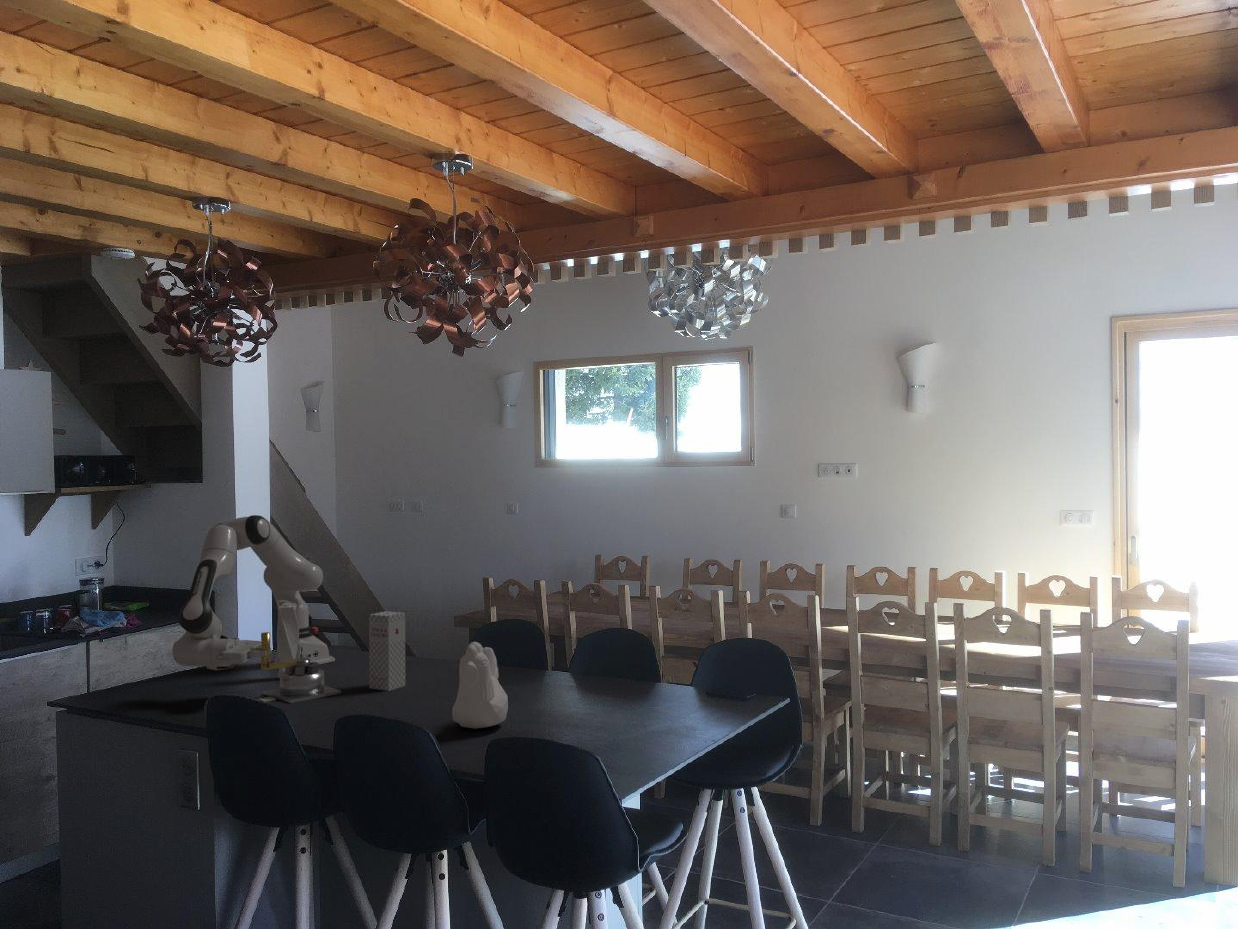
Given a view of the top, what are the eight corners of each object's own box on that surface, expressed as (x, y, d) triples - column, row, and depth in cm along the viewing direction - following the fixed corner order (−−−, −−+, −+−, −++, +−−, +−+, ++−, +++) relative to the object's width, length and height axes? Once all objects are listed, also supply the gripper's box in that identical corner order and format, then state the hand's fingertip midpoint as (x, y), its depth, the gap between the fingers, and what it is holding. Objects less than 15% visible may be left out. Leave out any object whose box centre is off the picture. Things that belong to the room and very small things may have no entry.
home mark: (269, 698, 319) (269, 696, 319) (276, 700, 316) (276, 699, 316) (256, 700, 316) (256, 699, 316) (263, 702, 313) (263, 701, 313)
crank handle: (310, 667, 332) (310, 625, 332) (323, 672, 324) (323, 629, 324) (255, 675, 320) (255, 631, 320) (267, 680, 312) (267, 635, 312)
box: (405, 685, 336) (405, 612, 336) (388, 690, 328) (388, 616, 328) (386, 683, 340) (385, 611, 340) (369, 688, 332) (369, 614, 332)
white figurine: (489, 737, 272) (489, 647, 272) (440, 732, 277) (439, 644, 277) (529, 715, 295) (528, 633, 295) (482, 711, 301) (482, 630, 301)
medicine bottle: (216, 671, 361) (216, 638, 361) (206, 668, 366) (206, 636, 366) (234, 667, 367) (234, 635, 367) (223, 665, 371) (223, 633, 371)
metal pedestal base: (313, 685, 337) (313, 665, 337) (340, 693, 325) (340, 672, 325) (263, 694, 324) (263, 673, 324) (290, 703, 312) (290, 681, 312)
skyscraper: (285, 681, 343) (284, 601, 343) (271, 678, 348) (271, 599, 348) (305, 677, 350) (305, 599, 350) (292, 674, 355) (292, 597, 355)
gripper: (213, 648, 306) (257, 648, 306) (236, 637, 326) (278, 637, 327) (213, 669, 306) (257, 668, 306) (236, 656, 326) (278, 655, 327)
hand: (268, 652), depth 317 cm, fingers open, 3 cm apart
